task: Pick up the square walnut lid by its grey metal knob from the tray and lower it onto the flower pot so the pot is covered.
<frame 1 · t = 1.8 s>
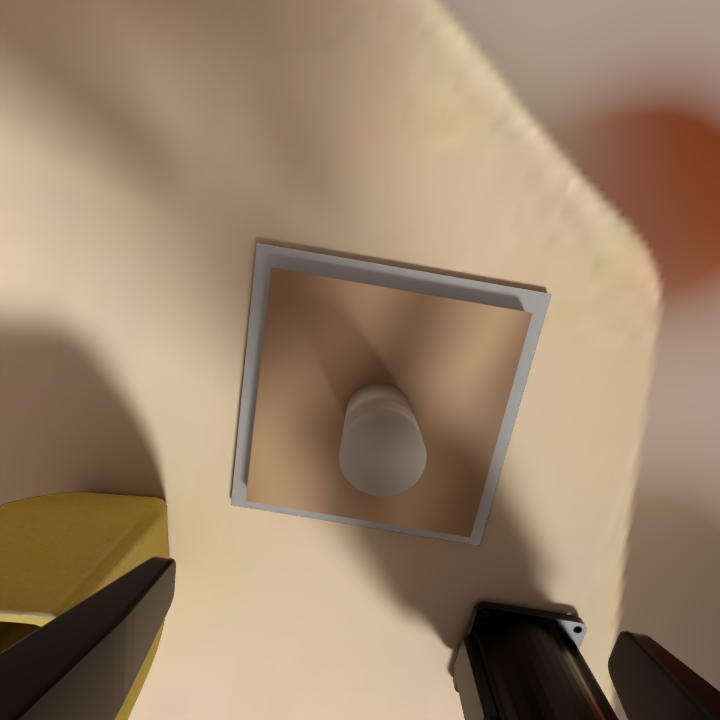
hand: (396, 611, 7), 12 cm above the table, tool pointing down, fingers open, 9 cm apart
flower pot: (127, 527, 20), on the table
lid: (378, 407, 18), resting on tray
tray: (378, 405, 18), on the table
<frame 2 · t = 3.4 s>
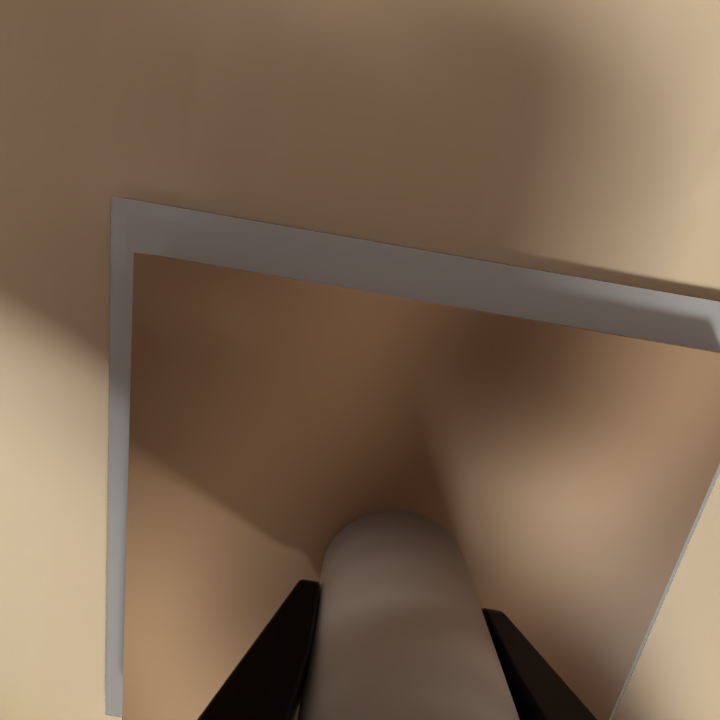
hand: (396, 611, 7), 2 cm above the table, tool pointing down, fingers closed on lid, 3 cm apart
lid: (390, 547, 9), resting on tray, touching gripper
tray: (390, 538, 9), on the table
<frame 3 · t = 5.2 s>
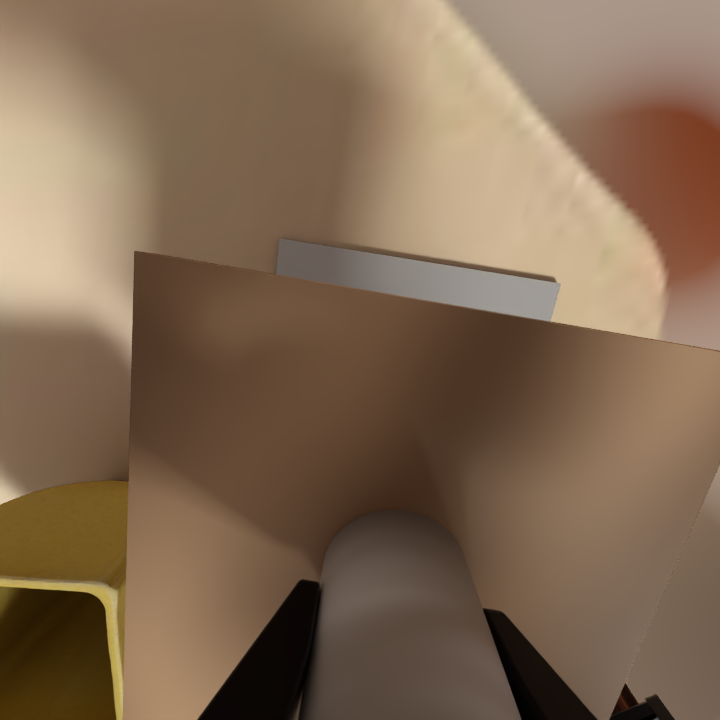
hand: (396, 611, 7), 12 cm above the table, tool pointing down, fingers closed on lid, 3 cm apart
flower pot: (154, 515, 21), on the table
lid: (391, 546, 9), point 11 cm above the table, touching gripper
tray: (395, 393, 19), on the table
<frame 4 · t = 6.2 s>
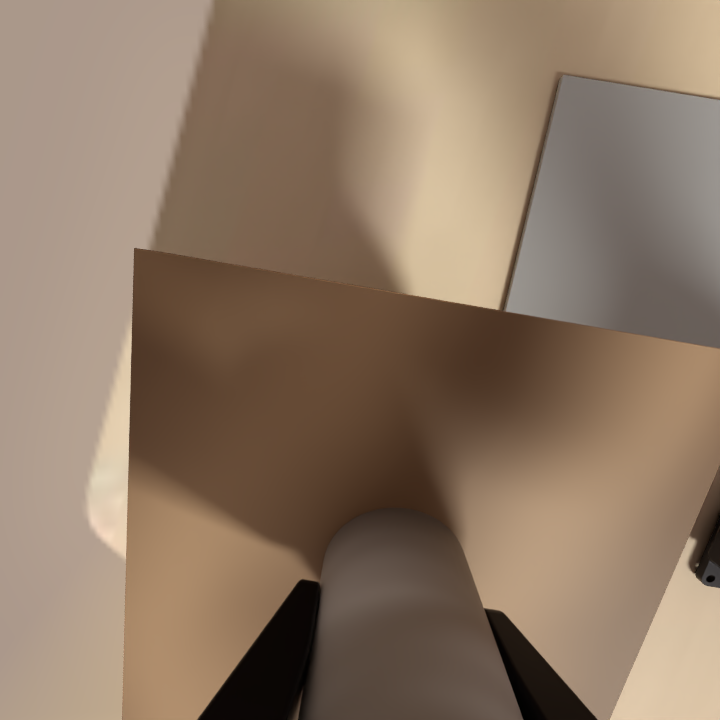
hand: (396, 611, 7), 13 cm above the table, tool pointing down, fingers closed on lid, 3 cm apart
lid: (391, 544, 9), point 11 cm above the table, touching gripper
tray: (660, 262, 17), on the table
when the fingers open (12 cm above the table, at t = 6.9 s): lid drops 1 cm, resting on flower pot.
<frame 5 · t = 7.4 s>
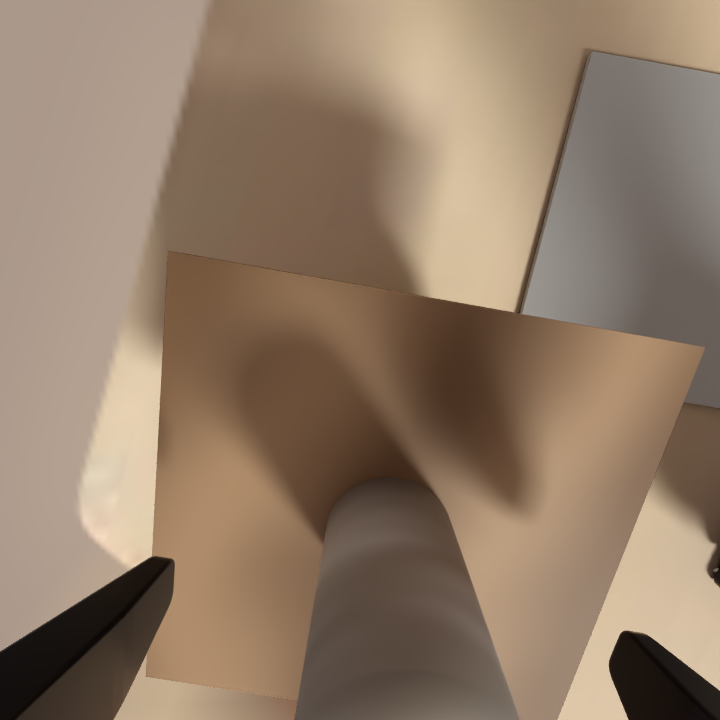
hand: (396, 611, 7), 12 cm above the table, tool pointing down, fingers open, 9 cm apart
lid: (386, 513, 10), point 9 cm above the table, touching flower pot
tray: (687, 253, 17), on the table
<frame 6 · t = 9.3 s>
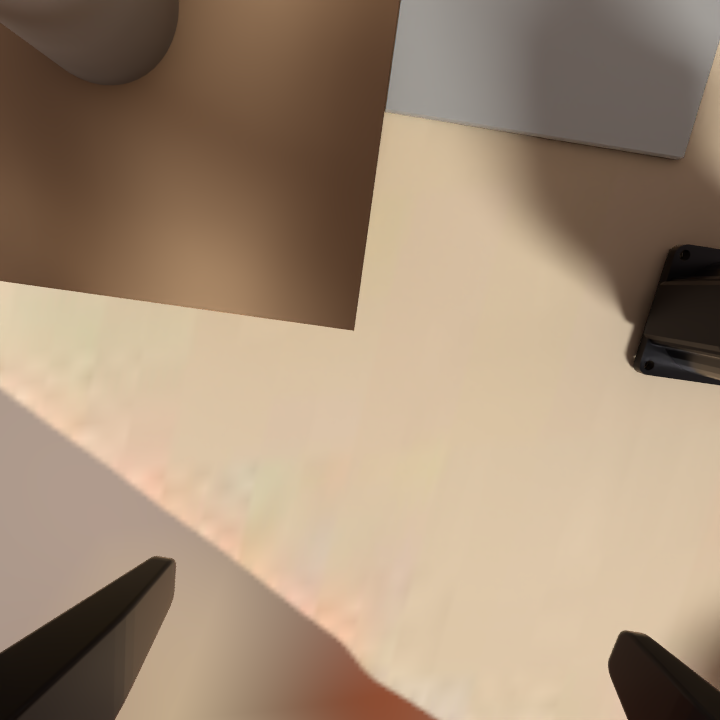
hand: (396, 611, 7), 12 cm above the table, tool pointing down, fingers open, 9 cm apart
lid: (124, 23, 8), point 9 cm above the table, touching flower pot
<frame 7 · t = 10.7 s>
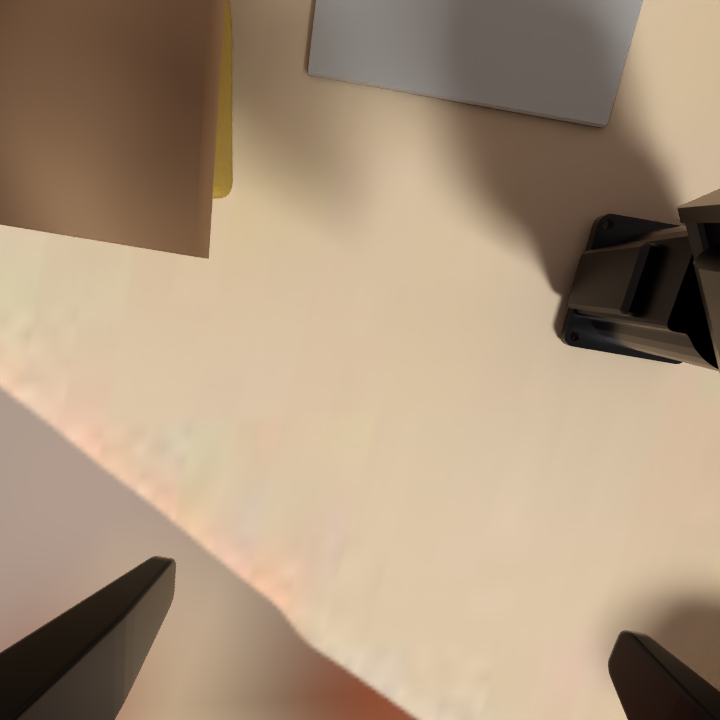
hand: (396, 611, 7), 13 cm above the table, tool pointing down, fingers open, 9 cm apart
flower pot: (180, 126, 17), on the table, touching lid
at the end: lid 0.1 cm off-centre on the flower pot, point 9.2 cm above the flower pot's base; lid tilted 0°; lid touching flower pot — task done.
